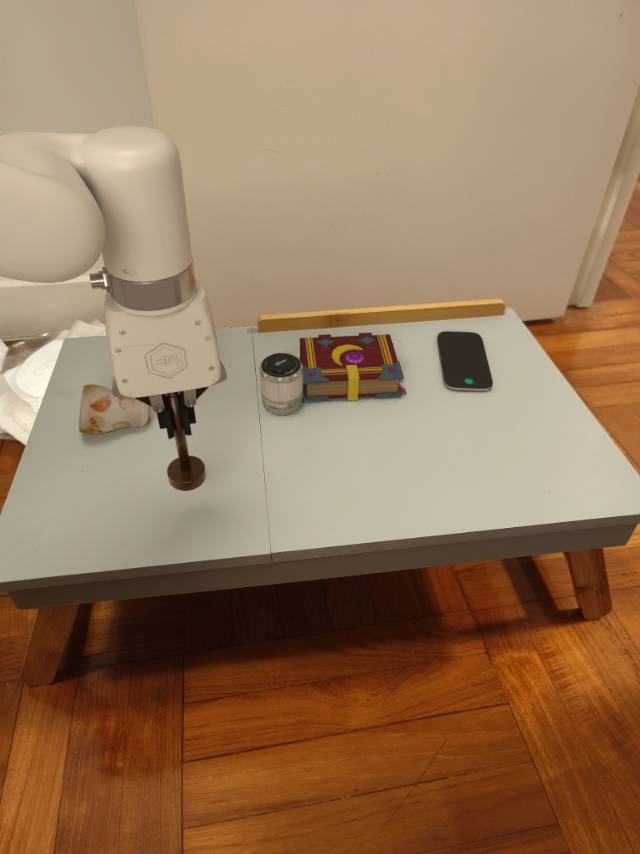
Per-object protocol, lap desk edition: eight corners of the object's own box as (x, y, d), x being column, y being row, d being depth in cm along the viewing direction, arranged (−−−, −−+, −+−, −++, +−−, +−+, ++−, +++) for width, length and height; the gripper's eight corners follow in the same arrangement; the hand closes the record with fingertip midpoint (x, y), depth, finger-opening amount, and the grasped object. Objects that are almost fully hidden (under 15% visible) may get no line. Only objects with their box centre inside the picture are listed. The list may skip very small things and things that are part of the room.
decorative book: (298, 358, 101) (298, 333, 98) (395, 354, 102) (398, 329, 99) (303, 404, 93) (303, 378, 90) (408, 398, 94) (412, 373, 91)
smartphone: (445, 386, 95) (436, 330, 106) (444, 390, 96) (435, 334, 106) (495, 388, 95) (481, 331, 106) (493, 392, 95) (480, 336, 106)
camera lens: (311, 403, 93) (311, 362, 88) (280, 423, 90) (278, 381, 85) (284, 384, 96) (283, 343, 91) (253, 402, 93) (249, 361, 88)
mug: (158, 437, 88) (110, 405, 80) (104, 457, 91) (52, 427, 83) (160, 395, 92) (114, 359, 84) (108, 414, 95) (59, 382, 87)
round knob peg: (170, 494, 71) (152, 406, 62) (166, 467, 74) (148, 380, 65) (208, 487, 72) (196, 400, 63) (203, 460, 75) (190, 374, 66)
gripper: (60, 313, 51) (107, 465, 63) (245, 290, 54) (254, 439, 67) (62, 269, 56) (104, 418, 69) (230, 251, 59) (242, 396, 72)
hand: (178, 428), depth 68 cm, fingers closed on round knob peg, 1 cm apart
